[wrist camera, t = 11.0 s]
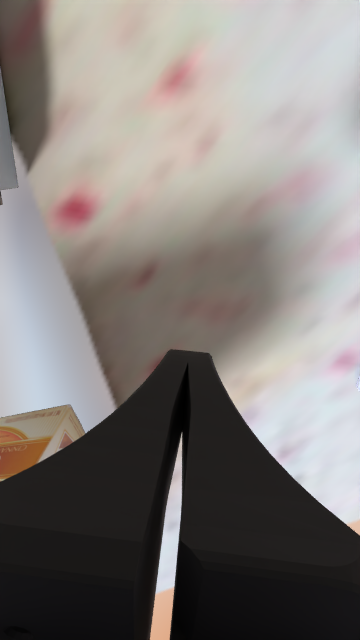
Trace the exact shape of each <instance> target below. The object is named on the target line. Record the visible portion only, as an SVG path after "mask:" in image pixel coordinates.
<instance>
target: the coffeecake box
mask: <svg viewBox="0 0 360 640" xmlns="http://www.w3.org/2000/svg"><path fill="white" fill-rule="evenodd" d="M84 434H85V432H84V430H83V427H82V425H81V423H80V421H79V419H78V418H77V416H76V415H75V413H74V411H73V409H72V407H71V405H64V406H58V407H53V408H48V409H43V410H38V411H32V412H27V413H22V414H17V415H12V416H7V417H1V418H0V482H1V481H3V480H5V479H7V478H9V477H11V476H13V475H15V474H17V473H19V472H21V471H23V470H26V469H28V468H29V467H31V466H33V465H35V464H37V463H39V462H41V461H42V460H44V459H46V458H48V457H50V456H51V455H53V454H55V453H56V452H58V451H60V450H61V449H63V448H65V447H66V446H68V445H70V444H71V443H73V442H74V441H76V440H77V439H79V438H80V437H82V436H83V435H84Z"/></svg>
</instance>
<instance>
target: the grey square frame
mask: <svg viewBox="0 0 360 640" xmlns="http://www.w3.org/2000/svg"><path fill="white" fill-rule="evenodd" d="M11 188H18V182H17V175H16V168H15V162H14V155H13V148H12V142H11V135H10V128H9V121H8V115H7V108H6V101H5V95H4V88H3V81H2V75H1V68H0V190H4V189H11ZM0 205H2V198H1V192H0Z"/></svg>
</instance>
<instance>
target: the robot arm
mask: <svg viewBox="0 0 360 640" xmlns="http://www.w3.org/2000/svg"><path fill="white" fill-rule="evenodd" d="M357 388H358V390H359V391H360V377H359V379H358V382H357ZM181 434H182V507H181V521H180V532H179V543H178V554H177V565H176V576H175V587H174V599H173V609H172V620H171V631H170V640H360V535H358V534H357V533H356V532H355V531H353V530H352V529H351V528H350V527H348V526H347V525H346V524H345V523H344V522H342V521H341V520H340V519H339V518H338V517H336V516H335V515H334V514H333V513H332V512H330V511H329V510H328V509H327V508H325V507H324V506H323V505H322V504H321V503H319V502H318V501H317V500H316V499H315V498H314V497H313V496H312V495H311V494H310V493H308V492H307V491H306V490H305V489H304V488H303V487H302V486H301V485H300V484H299V483H298V482H297V481H296V480H295V479H294V478H293V477H292V476H291V475H290V474H289V473H288V472H287V471H286V470H285V469H284V468H283V467H282V466H281V465H280V464H279V463H278V462H277V461H276V459H275V458H274V457H273V456H272V455H271V454H270V453H269V452H268V450H267V449H266V448H265V447H264V446H263V444H262V443H261V442H260V441H259V440H258V438H257V437H256V436H255V434H254V433H253V432H252V431H251V429H250V428H249V426H248V425H247V424H246V422H245V421H244V419H243V418H242V416H241V415H240V413H239V412H238V410H237V408H236V407H235V405H234V404H233V402H232V400H231V399H230V397H229V395H228V393H227V391H226V389H225V388H224V386H223V384H222V382H221V380H220V378H219V375H218V373H217V371H216V368H215V366H214V363H213V360H212V356H211V355H210V354H209V353H203V352H193V351H182V350H172V349H171V350H169V351H168V352H167V353H166V355H165V356H164V358H163V359H162V361H161V362H160V364H159V365H158V366H157V367H156V369H155V370H154V371H153V372H152V374H151V375H150V376H149V377H148V378H147V379H146V381H145V382H144V383H143V384H142V385H141V386H140V387H139V388H138V389H137V390H136V391H135V392H134V393H133V394H132V395H131V396H130V397H129V398H128V399H127V400H126V401H125V402H124V403H123V404H122V405H121V406H120V407H119V408H118V409H116V410H115V411H114V412H113V413H112V414H111V415H109V416H108V417H107V418H106V419H104V420H103V421H102V422H101V423H99V424H98V425H97V426H95V427H94V428H93V429H91V430H90V431H88V432H87V433H86V434H84V435H83V436H82V437H80V438H79V439H77V440H76V441H74V442H73V443H71V444H70V445H68V446H66V447H65V448H63V449H61V450H60V451H58V452H56V453H55V454H53V455H51V456H50V457H48V458H46V459H44V460H42V461H41V462H39V463H37V464H35V465H33V466H31V467H29V468H28V469H26V470H23V471H21V472H19V473H17V474H15V475H13V476H11V477H9V478H7V479H5V480H3V481H1V482H0V640H150V632H151V624H152V616H153V608H154V600H155V592H156V583H157V575H158V567H159V559H160V551H161V543H162V535H163V527H164V519H165V511H166V505H167V499H168V494H169V489H170V485H171V480H172V475H173V471H174V466H175V461H176V457H177V452H178V448H179V443H180V438H181Z"/></svg>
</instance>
